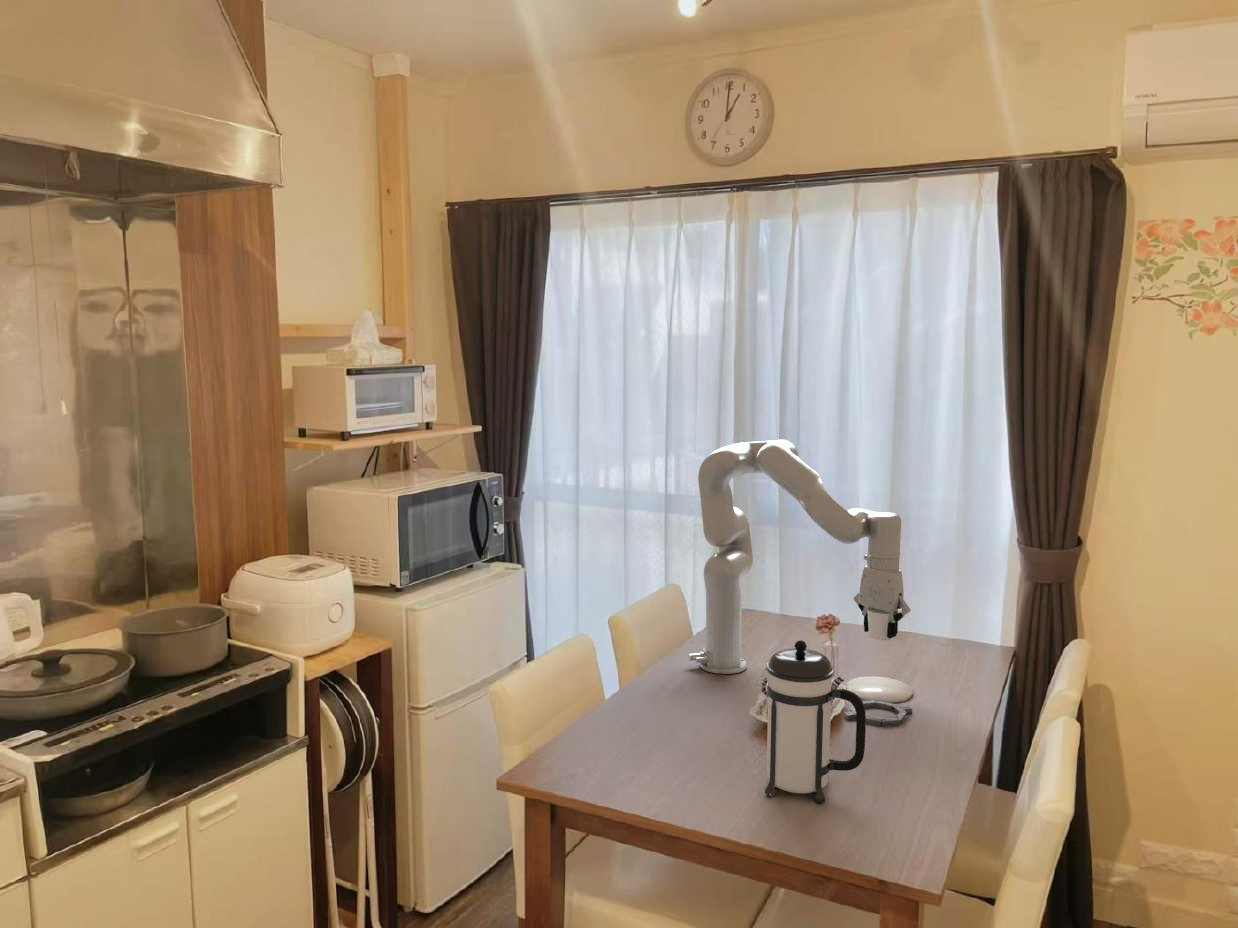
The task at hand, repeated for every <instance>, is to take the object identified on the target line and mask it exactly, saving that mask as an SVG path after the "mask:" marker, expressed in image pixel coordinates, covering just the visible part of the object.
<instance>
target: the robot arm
mask: <svg viewBox="0 0 1238 928" xmlns="http://www.w3.org/2000/svg"><path fill="white" fill-rule="evenodd" d="M758 473H760V474H761V473H764V474H765V475H766V476H767V477H768V478H769V479H771V480H772V481H773V482H774V483H776V484H777V485H778V486H780V488H782V489H783V490H784V491H785V492H786V493H787V494H789V495H790V496H792V497H793V498H794V500H796V501H797V502H798V503H799V505H800V506H801V507H802V509H804V511H805V513H807V515H808V516H809V517H810V519H811V520H812V521H813V522H814V523H816V525H817V526H818V527H820V528H821V529H822V531H824V532H825V533H827V534H828V535H829V536H830V537H831V538H833V539H834V540H835V541H837V542H839V543H841V544H844V545H851V544H852V545H853V544H855V543H858V542H859V541H860V540H861V539H864V538H867V539H868V544H867V547H868V548H867V554H864V555H863V560H864V561H866V564H867V565H864V567H863V570H862V573H861V578H860V584H859V592H858V593H857V594H856V595H855V596H853V601H854V603H856V605H858V606H857V607H858V608H859V609H860V611H861V615H862V616H863V630H864V632H865V633H867V632H868V633H869V628H868V612H867V609H868V608H874V609H878V610H882V611H886V612H888V613H889V619H890V622H888V631H887V637H888V638H892V639H893V638H895V637H896V636H897V635H898V631H899V621H901V620H902V619H903V618H905V616H906V615H908V614H910V613H911V611H912V610H911V609H910V606H909V605H908V604H907V602H906V601H905V598H904V595H905V594H904V592H905V591H904V580H903V579H904V578H903V573H902V569H900V557H901V539H902V537H901V535H902V534H901V533H902V518H901V516H900V515H899V514H897V513H895V512H888V511H872V510H868V509H866V508H865V509H864V508H859V507H854V508H853V507H852V508H850V509H845V508H844V507H843V506H842V505H840V504H839V502H837V501H836V500H835V499H834V498H833V497H832V496H831V495H830V494H829V492H828V491H827V489H826V486H825V483H824V480H823V478H822V476H821V475H820V474H819V473H818V472H817V471H816V470H814V469H812V467H810V466H809V465H808V464H807V463H805V462H804V461H803V460H801V459H800V457H799V452H798V450H797V448H796V446H795V445H794V444H793V443H792V442H790V441H789V440H786V439H776V440H763V441H747V442H746V441H745V442H738V443H737V442H736V443H733V444H730V445H726V446H722V447H720V448H718V449H716V450H715V451H713V452H711V453H710V454H709V455H707V456H706V457H705V458H704V460H703V461H702V462H701V464H700V467H699V470H698V475H697V476H698V477H697V479H698V481H697V482H698V489H699V496H700V507H701V509H700V510H701V516H702V517H701V520H702V528H703V534H704V539H705V540H706V541H707V543H708V544H709V545H711V546H712V547H714V548H715V547H717V548H718V551H716V552H715V553H714V554H712V555H711V556H710V557H709V558H708V559H707V561H706V562H705V564H704V567H703V580H704V581H703V582H704V587H705V647H703V648H702V651H699V652H698V653H688V655H687V658H688V661H689V662H694V661H695V663H698V664H699V666H700V668H701V669H702V670H703V671H706V672H709V673H712V674H720V675H731V674H738V673H741V672H743V671H745V670H746V669H747V666H748V665H747V661H746V660H745V659H744V658H742V620H743V619H742V615H743V614H742V609H743V608H742V606H743V604H742V602H743V601H742V592H741V586H740V583H741V581H742V580H743V579H745V577H747V576H748V575H749V574H750V572H751V571H752V569H753V566H754V565H753V564H754V560H753V559H754V557H753V556H754V555H753V548H752V547H753V546H752V539H751V530H750V523H749V519H748V517H747V515H746V514H745V512H744V511H743V510H742V509H740V508H738V507H737V506H734V498H733V491H732V488H731V486H730V481H731V480H732V479H735V478H737V477H741V476H744V475H745V474H758ZM900 609H901V611H899V610H900ZM893 612H895V616H894V613H893Z"/></svg>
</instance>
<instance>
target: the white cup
mask: <svg viewBox="0 0 1238 928" xmlns="http://www.w3.org/2000/svg"><path fill="white" fill-rule="evenodd" d="M867 612H868V628H869V631H868V637H869V638H870V639H873V640H876V641H889V640H892V639H893V638H888V637H887V631H888V622H890V619H889V613H888V612H886V611H882V610H878V609H874V608H868V609H867ZM893 613H894V616H895V612H893Z"/></svg>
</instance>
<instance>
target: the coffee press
mask: <svg viewBox="0 0 1238 928" xmlns="http://www.w3.org/2000/svg"><path fill="white" fill-rule="evenodd" d="M807 646H808V645H807V644H806V642H805V641H804V640H797V641H796V642H795V643H794V647H792V648H785V649H782V650H779V651H776V652H775V653H774V654H773V655H772V656H771V657H770V659H769V661H768V662H767V663H766V667H765V668H764V669H763V670H762V671H761V673H760V674H759V678H764V679H765V678H766V679H767V683H766V694H767V729H766V730H767V734H766V735H767V738H766V740H767V741H766V747H767V748H766V751H767V752H766V775H767V778H768V780H769V782H768V783H767V785H766V788H765V789H764V794H765V795H767V796H768V797H769V798H773V797H775V796H776V794H777V793H778V792H779V791H780V790H783V791H786V792H789V793H794V794H811V796H812V798H813V799H814V800H813V801H814V802H815V803H816V804H817V805H819V804H822V803H825V802H826V798H825V795H824V792H823V790H822V789H824V788H825V786H827V784H828V783H829V779H830V775H829V774H830V771H838V772H839V771H840V772H841V771H843V772H844V771H845V772H846V771H852V770H855V769H856V768H858V767H859V766H860V765H861V763H862V761H863V759H864V756H865V750H866V747H865V746H866V728H867V727H866V725H867V723H866V716H867V714H866V708H865V707H864V704H863V702H862V701H863V699H860V698H859V696H858V695H856V694H855V693H853V692H851V691H849V690H847V689H846V688H845V689H843V688H841V689H838V688H837V689H836V688H833V685H832V681H833V676H834V674H835V668H834V666H833V665H832V663H831V661H830V659H829V658H828V657H827V656H826V655H825V654H823V653H822V652H820V651H816V650H813V649H809V648H807ZM833 698H835V699H840V700H844V701H848V702H849V703H851V705H852V706H854V708H855V710H856V719H855V720H856V721H855V722H856V723H855V724H856V726H855V727H856V728H855V749H854V750H855V751H854V754H853V755H852V757H851V758H849V759H848V760H837V759H836V760H835V759H833V758H832V759H831V756H830V750H831V749H830V746H831V713H832V700H833Z"/></svg>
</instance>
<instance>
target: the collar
mask: <svg viewBox="0 0 1238 928" xmlns="http://www.w3.org/2000/svg"><path fill="white" fill-rule="evenodd" d="M862 702H863V704H864V707H865V709H869V708H870V709H872V708H877V709H882V710H888V711H891V712H893V713H894V714H896V716H895V717H887V718H885V717H884V718H878V717H873V716H868V715H866V725H867V724H868V725H872V726H877V727H889V726H890V727H891V726H900V725H902V724H903V723H904V722H905V720H906V719H907V715H911V714H910V713H912V714H913V708H912V707H910V705H902V706H899V705H898V704H895V703H888V702H883V701H878V700H876V701H875V700H871V701H866V700H862ZM843 718H844V719H845V720H846V721H853V720H856V710H855V708H854V706H853V705H852V706H851V707H850V708H849V711H843Z"/></svg>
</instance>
